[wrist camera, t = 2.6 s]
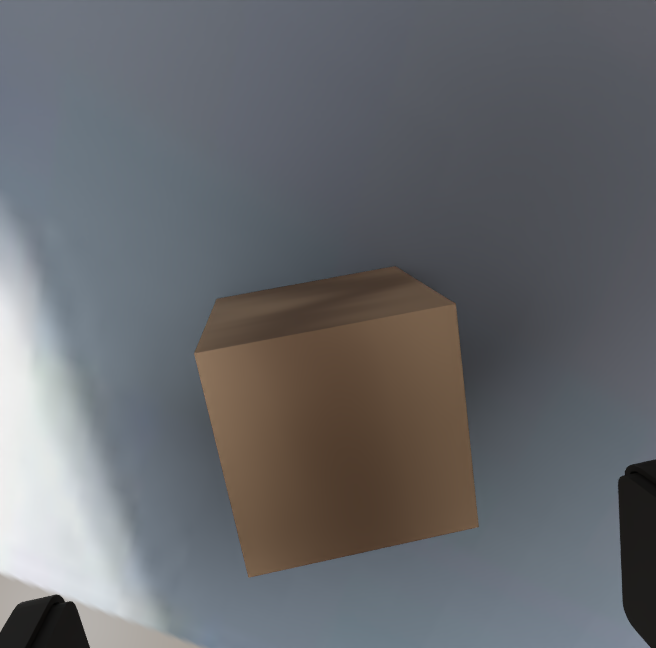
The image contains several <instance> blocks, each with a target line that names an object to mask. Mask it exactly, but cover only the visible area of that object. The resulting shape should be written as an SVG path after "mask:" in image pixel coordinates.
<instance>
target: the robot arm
mask: <svg viewBox="0 0 656 648" xmlns="http://www.w3.org/2000/svg"><path fill="white" fill-rule="evenodd" d="M618 493H619V519H620V544H621V570H622V595H623V607H624V611H625V614H626V616H627V618H628V620H629V622H630V623H631V625H632V626H633V628H634V629H635V630H636V631H637V632H638V634H639V635H640V636H641V637H642V638H643V639H644V640H645V642H646V643H647V644H648V645H649V646H650V647H651V648H656V459H655V460H651V461H646V462H642V463H638V464H633V465H630V466H628V467H627V468H626V470H625V475H624V476H622V477H620V479H619V481H618ZM0 648H90V647H89V644H88V640H87V638H86V634H85V632H84V629H83V625H82V622H81V620H80V616H79V613H78V610H77V608H76V605H75V604H74V603H73V602H71V601H69V602H65V601H64V599H63V598H62V597H61V596H60V595H52V596H48V597H43V598H39V599H34V600H30V601H25V602H22V603H20V604H18V605H17V606H16V607H15V609H14V610H13V612H12V614H11V615H10V617H9V618H8V620H7V622H6V623H5V625H4V627H3V628H2V630H1V632H0Z"/></svg>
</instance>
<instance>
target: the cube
mask: <svg viewBox="0 0 656 648" xmlns="http://www.w3.org/2000/svg"><path fill="white" fill-rule="evenodd" d="M194 355H195V359H196V363H197V367H198V371H199V375H200V379H201V384H202V388H203V392H204V396H205V400H206V404H207V408H208V412H209V417H210V421H211V425H212V429H213V433H214V437H215V441H216V445H217V450H218V454H219V458H220V462H221V466H222V470H223V474H224V478H225V483H226V487H227V491H228V495H229V499H230V503H231V507H232V511H233V515H234V520H235V524H236V528H237V532H238V536H239V540H240V544H241V548H242V553H243V557H244V561H245V565H246V569H247V573H248V577H254V576H258V575H263V574H267V573H272V572H276V571H281V570H285V569H290V568H294V567H299V566H304V565H308V564H313V563H317V562H322V561H326V560H331V559H335V558H340V557H344V556H349V555H354V554H358V553H363V552H367V551H372V550H376V549H381V548H385V547H390V546H394V545H399V544H404V543H408V542H413V541H417V540H422V539H426V538H431V537H435V536H440V535H444V534H449V533H454V532H458V531H463V530H467V529H472V528H476V527H479V526H478V516H477V506H476V496H475V487H474V477H473V467H472V457H471V448H470V438H469V428H468V418H467V409H466V399H465V389H464V379H463V370H462V360H461V350H460V340H459V331H458V321H457V311H456V304H455V303H454V302H452V301H450V300H449V299H447V298H446V297H444V296H442V295H441V294H439V293H437V292H436V291H434V290H433V289H431V288H429V287H428V286H426V285H425V284H423V283H421V282H420V281H418V280H417V279H415V278H413V277H412V276H410V275H409V274H407V273H405V272H404V271H402V270H401V269H399V268H397V267H396V266H393V267H388V268H382V269H377V270H371V271H366V272H360V273H355V274H349V275H344V276H339V277H333V278H328V279H322V280H317V281H311V282H306V283H300V284H295V285H289V286H284V287H279V288H273V289H268V290H262V291H257V292H251V293H246V294H240V295H235V296H229V297H224V298H218V299H216V302H215V304H214V307H213V309H212V311H211V314H210V316H209V319H208V321H207V324H206V326H205V328H204V331H203V333H202V336H201V338H200V341H199V343H198V345H197V348H196V350H195V353H194Z"/></svg>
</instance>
